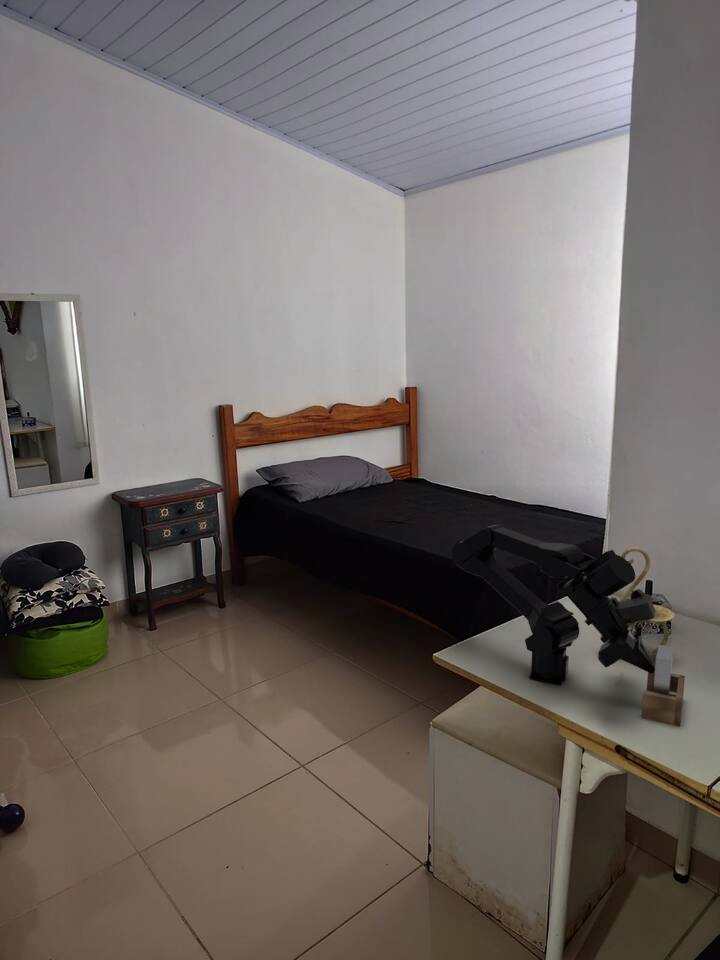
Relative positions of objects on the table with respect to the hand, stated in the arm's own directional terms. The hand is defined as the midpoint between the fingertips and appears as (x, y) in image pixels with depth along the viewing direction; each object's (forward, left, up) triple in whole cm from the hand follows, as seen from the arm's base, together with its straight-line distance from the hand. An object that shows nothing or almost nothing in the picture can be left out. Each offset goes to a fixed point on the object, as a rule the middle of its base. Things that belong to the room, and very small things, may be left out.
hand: (654, 671), depth 118 cm
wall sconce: (-5, +20, -7) cm, 22 cm away
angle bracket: (+1, 0, -7) cm, 7 cm away
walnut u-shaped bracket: (+2, 0, -7) cm, 7 cm away
